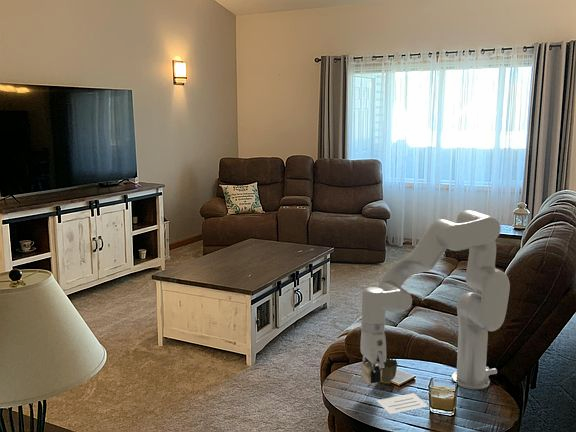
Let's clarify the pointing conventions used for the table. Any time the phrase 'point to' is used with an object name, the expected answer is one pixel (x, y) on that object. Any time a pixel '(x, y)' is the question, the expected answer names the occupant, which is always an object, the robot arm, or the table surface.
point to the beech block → (367, 372)
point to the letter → (402, 403)
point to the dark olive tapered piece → (389, 370)
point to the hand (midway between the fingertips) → (371, 377)
